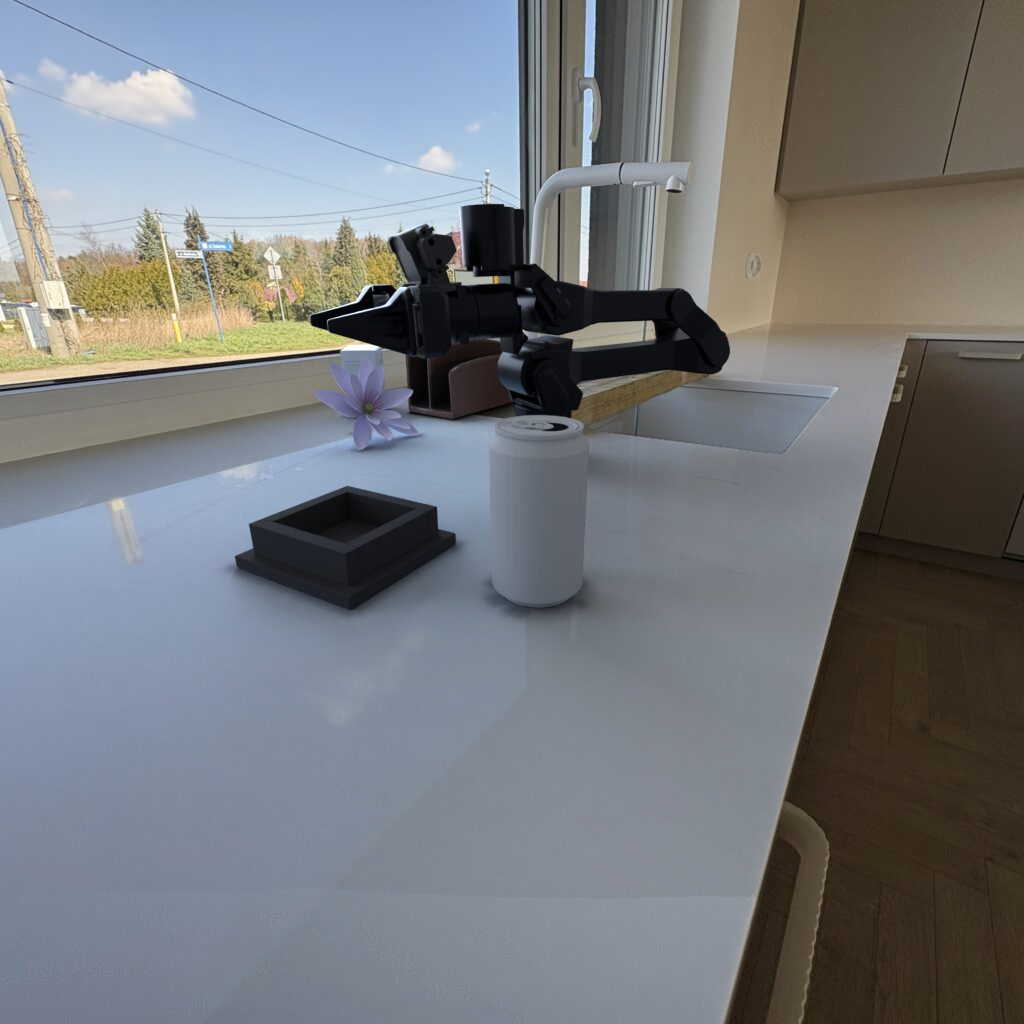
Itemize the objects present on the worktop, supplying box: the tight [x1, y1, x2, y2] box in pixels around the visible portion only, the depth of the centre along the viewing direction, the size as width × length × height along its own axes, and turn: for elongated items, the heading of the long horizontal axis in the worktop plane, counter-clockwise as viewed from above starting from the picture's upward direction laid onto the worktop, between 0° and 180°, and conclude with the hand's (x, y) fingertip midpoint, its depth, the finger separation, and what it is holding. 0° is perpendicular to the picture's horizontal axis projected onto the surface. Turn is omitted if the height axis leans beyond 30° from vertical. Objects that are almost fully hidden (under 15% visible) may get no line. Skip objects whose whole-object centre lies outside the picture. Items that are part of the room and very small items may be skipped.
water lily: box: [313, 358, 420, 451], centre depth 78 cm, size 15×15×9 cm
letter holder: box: [405, 339, 515, 420], centre depth 97 cm, size 10×20×14 cm, turn 145°
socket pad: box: [234, 485, 457, 610], centre depth 45 cm, size 12×12×4 cm
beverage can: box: [488, 415, 590, 609], centre depth 38 cm, size 6×6×12 cm
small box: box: [339, 344, 387, 411], centre depth 93 cm, size 8×6×10 cm
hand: (318, 323), depth 54 cm, fingers open, 9 cm apart
